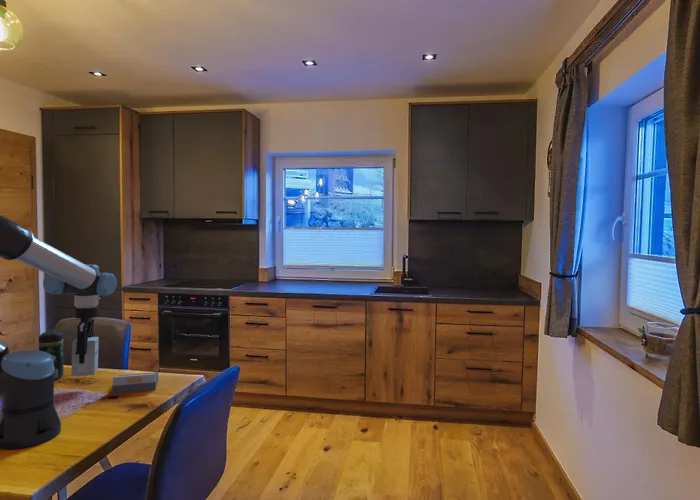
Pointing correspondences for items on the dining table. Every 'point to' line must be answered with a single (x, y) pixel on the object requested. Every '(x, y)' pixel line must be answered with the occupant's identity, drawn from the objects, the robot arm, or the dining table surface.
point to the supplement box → (91, 357)
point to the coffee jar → (53, 349)
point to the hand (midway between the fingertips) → (85, 368)
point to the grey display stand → (135, 382)
